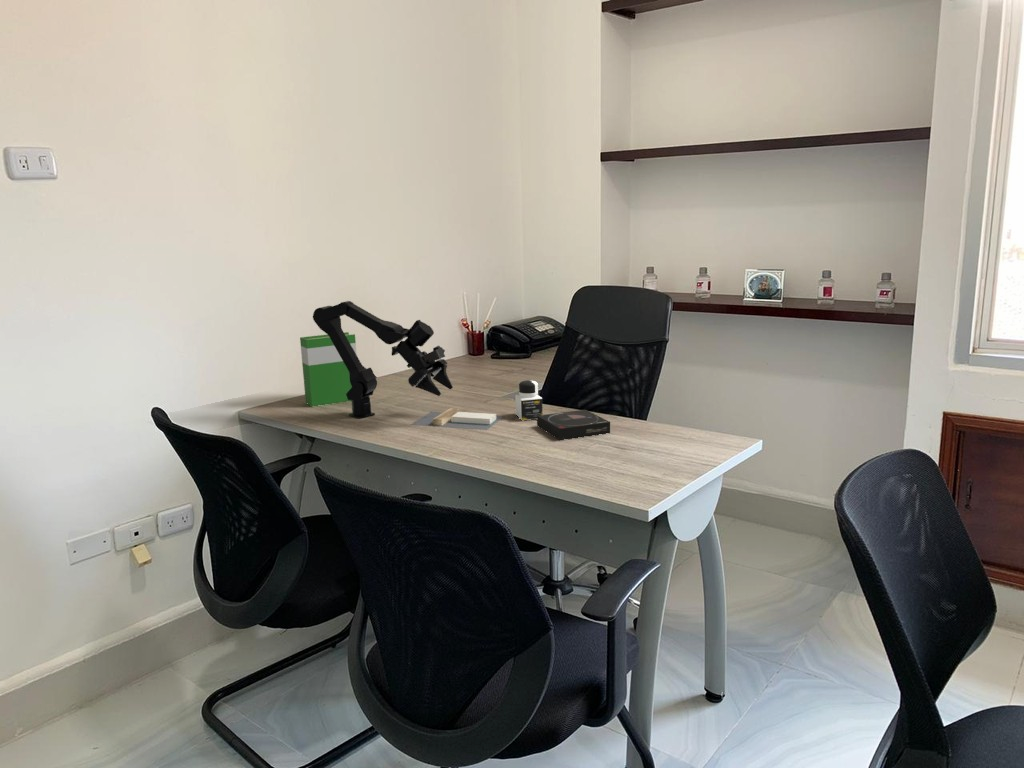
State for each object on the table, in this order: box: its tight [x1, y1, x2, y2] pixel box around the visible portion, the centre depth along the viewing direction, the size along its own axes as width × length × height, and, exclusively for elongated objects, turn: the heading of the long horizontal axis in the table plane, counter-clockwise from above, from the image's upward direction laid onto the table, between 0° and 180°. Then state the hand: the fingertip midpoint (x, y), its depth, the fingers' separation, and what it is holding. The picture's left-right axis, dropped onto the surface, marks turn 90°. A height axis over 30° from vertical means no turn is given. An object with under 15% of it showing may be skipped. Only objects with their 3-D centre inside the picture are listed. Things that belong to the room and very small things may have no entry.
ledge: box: [433, 407, 460, 426], centre depth 247 cm, size 3×14×2 cm, turn 161°
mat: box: [410, 411, 505, 431], centre depth 246 cm, size 26×16×1 cm, turn 71°
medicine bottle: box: [514, 379, 544, 421], centre depth 248 cm, size 7×7×12 cm
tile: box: [451, 411, 497, 425], centre depth 244 cm, size 2×6×13 cm
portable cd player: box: [536, 409, 611, 441], centre depth 234 cm, size 16×17×4 cm
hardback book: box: [299, 331, 357, 407], centre depth 275 cm, size 18×7×24 cm, turn 122°
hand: (446, 391), depth 245 cm, fingers open, 9 cm apart
